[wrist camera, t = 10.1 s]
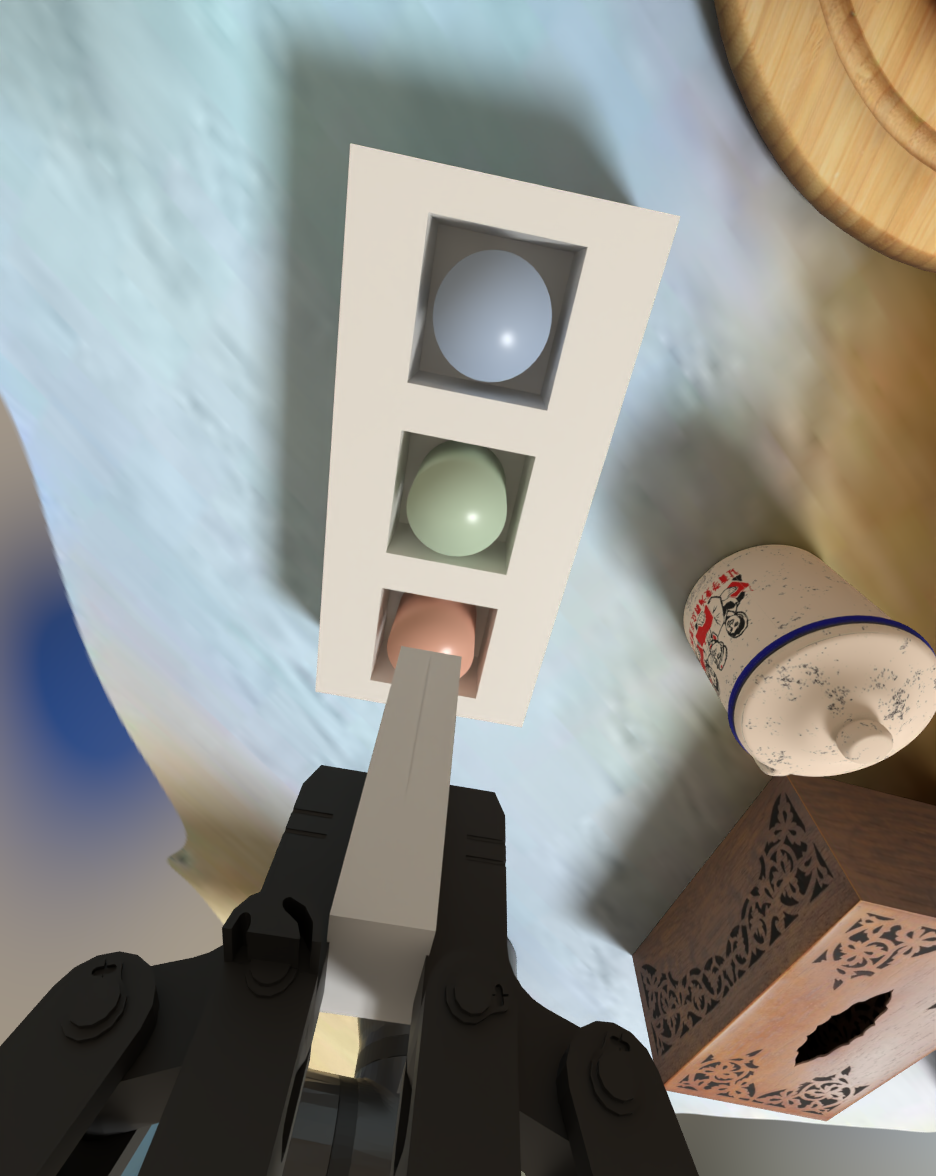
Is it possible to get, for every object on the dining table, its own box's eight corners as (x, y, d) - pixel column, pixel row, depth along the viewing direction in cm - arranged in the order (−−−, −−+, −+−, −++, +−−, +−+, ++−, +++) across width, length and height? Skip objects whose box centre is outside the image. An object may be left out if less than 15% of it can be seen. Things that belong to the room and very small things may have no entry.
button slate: (530, 378, 26) (535, 392, 22) (434, 358, 26) (424, 369, 22) (555, 267, 24) (565, 264, 20) (451, 245, 24) (442, 237, 20)
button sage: (495, 531, 30) (495, 564, 26) (411, 515, 30) (400, 546, 26) (514, 448, 28) (516, 472, 24) (424, 430, 27) (413, 452, 24)
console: (518, 674, 36) (521, 727, 32) (337, 641, 36) (315, 691, 31) (647, 229, 24) (680, 216, 20) (377, 170, 24) (350, 143, 19)
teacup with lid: (690, 538, 31) (785, 660, 21) (857, 537, 31) (1038, 661, 20) (660, 703, 37) (723, 862, 27) (800, 704, 36) (919, 867, 26)
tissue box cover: (771, 982, 53) (826, 1121, 44) (631, 952, 51) (659, 1089, 43) (957, 808, 41) (1083, 952, 32) (779, 763, 39) (860, 900, 31)
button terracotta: (468, 650, 34) (465, 692, 30) (394, 637, 33) (382, 678, 30) (483, 585, 31) (481, 623, 28) (403, 571, 31) (392, 606, 28)
